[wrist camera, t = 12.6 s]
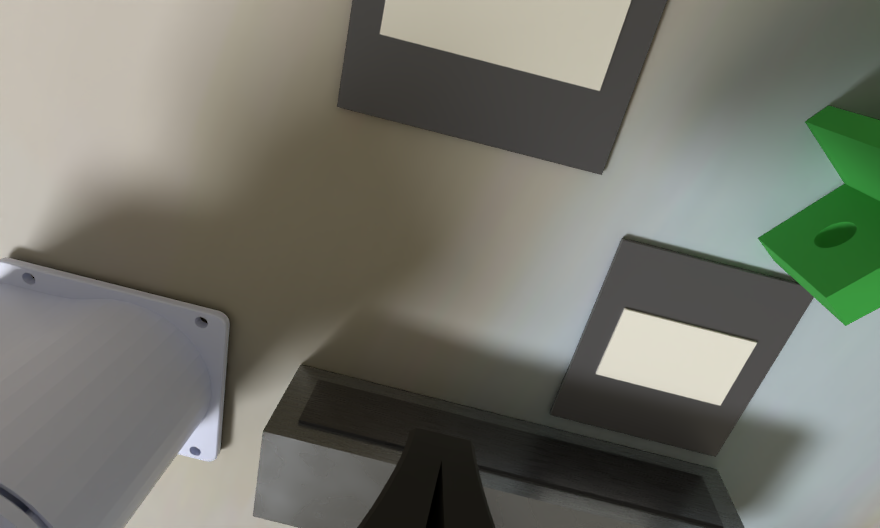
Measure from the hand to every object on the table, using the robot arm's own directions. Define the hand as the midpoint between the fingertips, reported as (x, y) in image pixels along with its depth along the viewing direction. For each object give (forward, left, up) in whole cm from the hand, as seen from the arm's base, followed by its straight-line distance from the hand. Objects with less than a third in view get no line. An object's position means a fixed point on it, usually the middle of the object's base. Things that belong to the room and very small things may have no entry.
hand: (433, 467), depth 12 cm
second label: (-1, +9, -9) cm, 13 cm away
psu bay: (+4, -8, -9) cm, 13 cm away
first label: (+9, -1, -9) cm, 13 cm away
